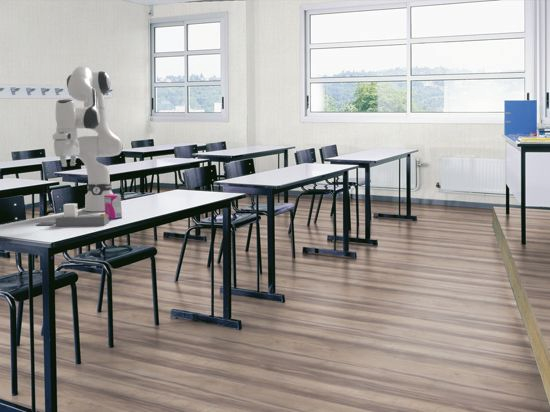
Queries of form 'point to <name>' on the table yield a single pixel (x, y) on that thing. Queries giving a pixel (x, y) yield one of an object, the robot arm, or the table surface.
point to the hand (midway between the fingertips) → (68, 166)
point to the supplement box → (113, 206)
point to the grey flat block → (83, 220)
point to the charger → (70, 210)
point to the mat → (46, 224)
